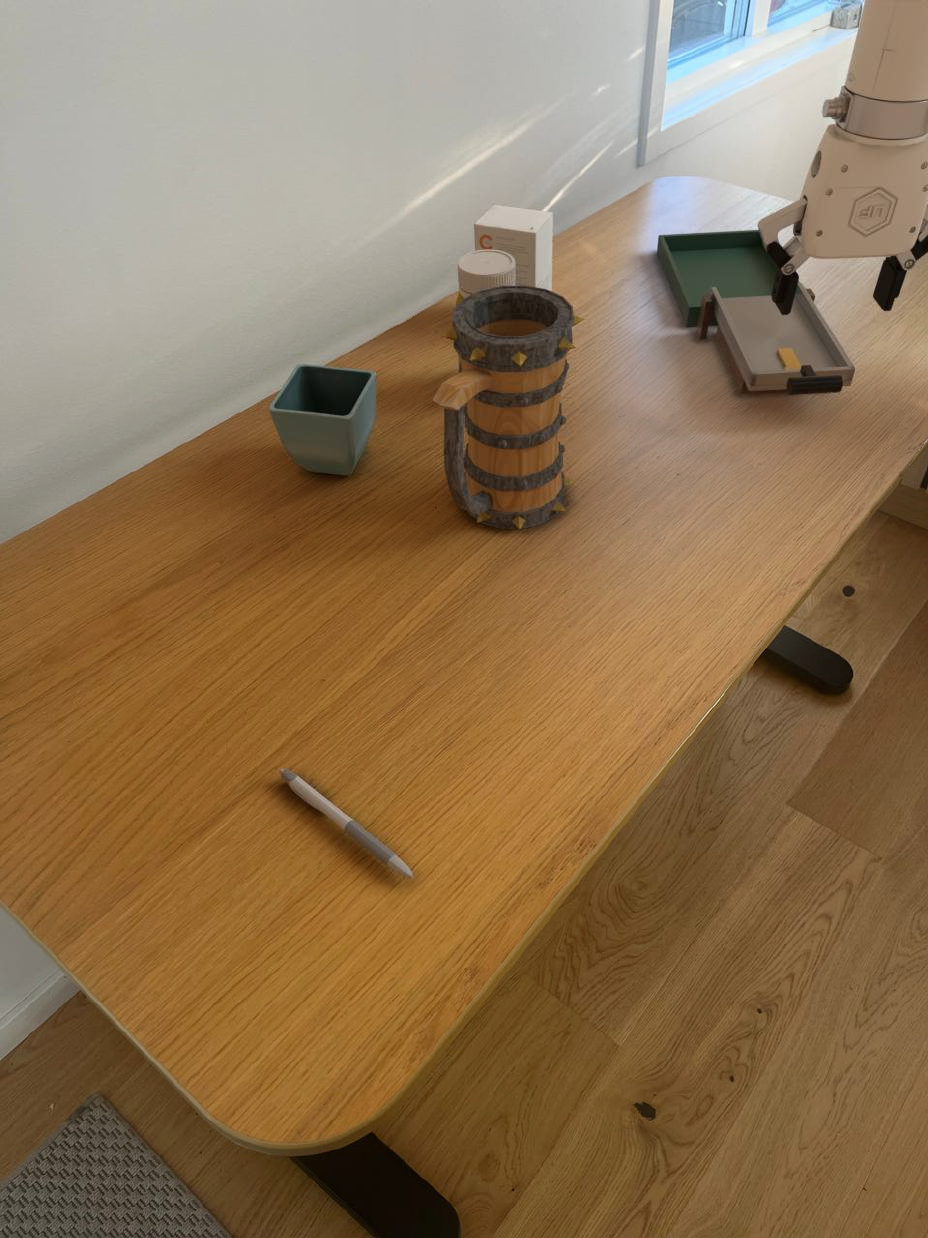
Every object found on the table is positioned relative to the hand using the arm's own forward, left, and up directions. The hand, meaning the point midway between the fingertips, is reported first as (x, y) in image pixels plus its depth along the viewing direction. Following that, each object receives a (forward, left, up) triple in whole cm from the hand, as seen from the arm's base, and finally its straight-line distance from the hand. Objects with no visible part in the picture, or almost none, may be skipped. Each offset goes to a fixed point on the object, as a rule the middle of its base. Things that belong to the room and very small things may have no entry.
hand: (831, 306), depth 88 cm
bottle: (+30, +18, -15) cm, 38 cm away
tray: (+27, -22, -15) cm, 38 cm away
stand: (+12, -10, -15) cm, 22 cm away
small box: (+40, +5, -15) cm, 43 cm away
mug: (+12, +32, -15) cm, 37 cm away
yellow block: (+6, -5, -11) cm, 13 cm away
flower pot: (+30, +40, -15) cm, 52 cm away
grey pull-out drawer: (+9, -7, -11) cm, 16 cm away
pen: (-8, +65, -15) cm, 67 cm away
